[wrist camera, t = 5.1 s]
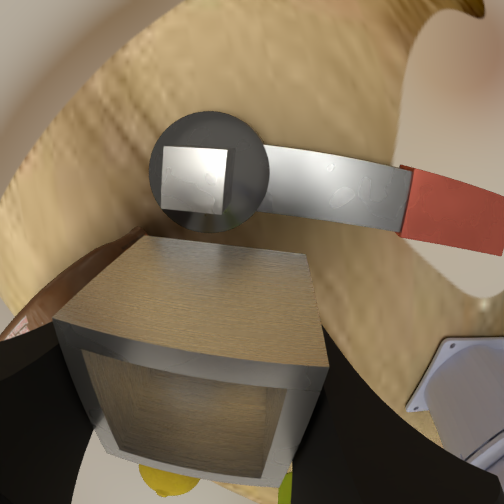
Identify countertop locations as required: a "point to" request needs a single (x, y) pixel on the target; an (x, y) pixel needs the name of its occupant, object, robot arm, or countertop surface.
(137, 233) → the tin
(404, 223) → the ratchet
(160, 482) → the lemon
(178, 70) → the countertop surface
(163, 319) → the socket
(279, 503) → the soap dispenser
